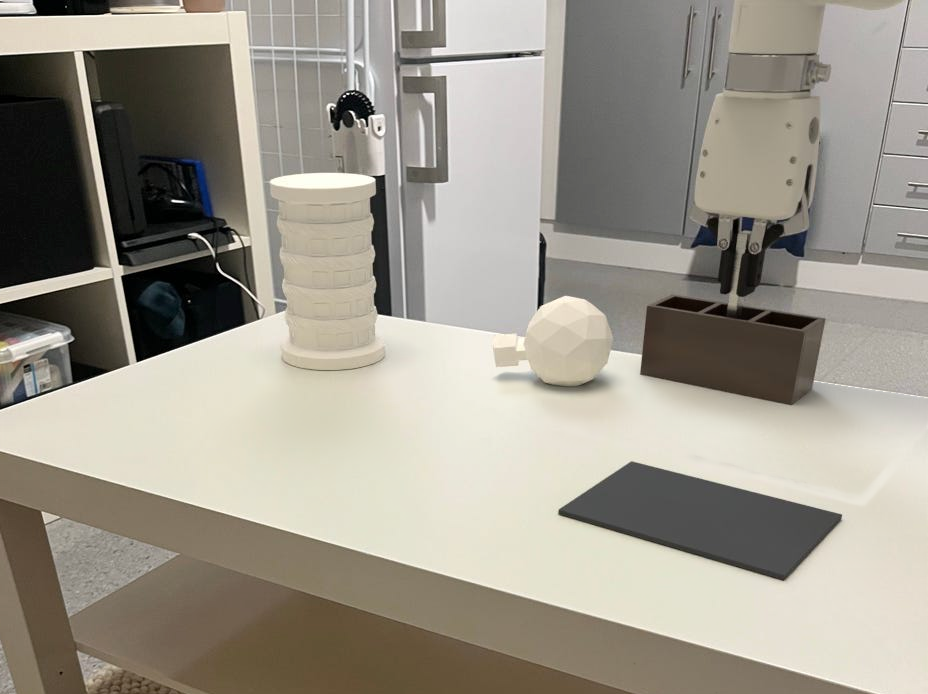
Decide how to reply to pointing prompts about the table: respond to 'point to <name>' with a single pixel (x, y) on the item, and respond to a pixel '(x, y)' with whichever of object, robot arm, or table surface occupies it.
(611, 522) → the mat
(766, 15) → the robot arm
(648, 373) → the box
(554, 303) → the perfume bottle
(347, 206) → the decorative container
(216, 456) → the table surface
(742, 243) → the stepped grey rod
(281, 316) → the table surface
